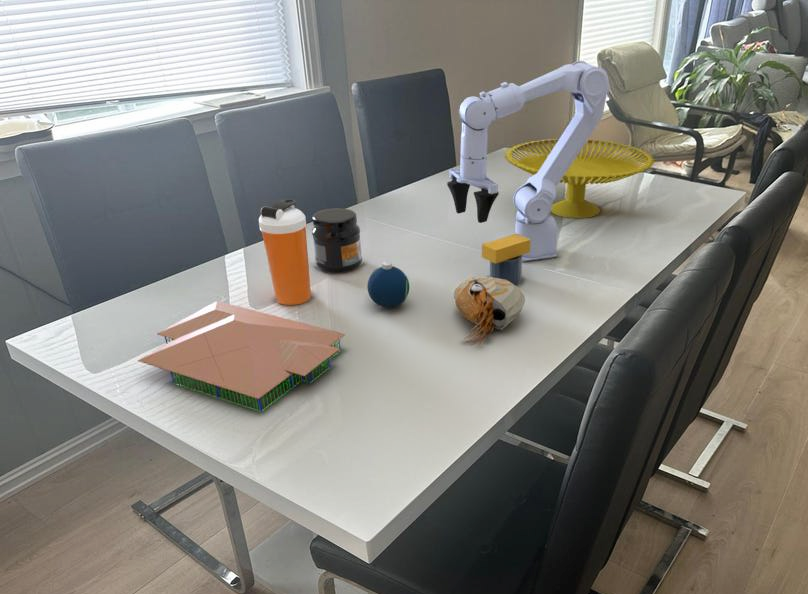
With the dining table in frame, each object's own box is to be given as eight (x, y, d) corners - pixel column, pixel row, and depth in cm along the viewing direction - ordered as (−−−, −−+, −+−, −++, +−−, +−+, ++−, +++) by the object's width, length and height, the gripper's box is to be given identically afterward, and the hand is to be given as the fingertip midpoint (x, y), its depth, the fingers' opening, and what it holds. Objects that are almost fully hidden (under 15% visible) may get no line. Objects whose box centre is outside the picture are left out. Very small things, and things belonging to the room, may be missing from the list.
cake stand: (668, 203, 199) (676, 150, 191) (613, 247, 169) (619, 186, 162) (544, 180, 217) (547, 131, 209) (475, 216, 188) (475, 161, 180)
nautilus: (501, 360, 123) (425, 348, 128) (536, 304, 140) (468, 295, 145) (499, 322, 119) (420, 311, 124) (536, 268, 135) (465, 261, 140)
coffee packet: (516, 246, 153) (516, 233, 151) (530, 252, 150) (530, 239, 149) (481, 257, 148) (481, 244, 146) (495, 263, 145) (495, 250, 143)
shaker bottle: (323, 292, 146) (312, 200, 136) (300, 310, 139) (287, 214, 128) (287, 286, 148) (273, 195, 138) (262, 303, 141) (246, 208, 131)
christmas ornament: (399, 317, 136) (396, 271, 131) (361, 311, 139) (357, 264, 133) (417, 300, 143) (415, 255, 138) (380, 294, 145) (377, 249, 140)
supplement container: (372, 265, 159) (368, 214, 152) (334, 278, 152) (329, 226, 146) (343, 252, 165) (339, 204, 158) (306, 265, 158) (300, 215, 152)
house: (275, 420, 106) (267, 375, 102) (123, 370, 118) (110, 329, 114) (359, 353, 124) (356, 312, 120) (220, 316, 136) (212, 278, 132)
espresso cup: (514, 272, 156) (514, 247, 153) (526, 284, 150) (527, 258, 147) (484, 276, 154) (485, 250, 151) (496, 288, 148) (496, 262, 145)
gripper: (438, 151, 152) (437, 211, 159) (481, 166, 142) (478, 229, 149) (463, 147, 156) (461, 206, 163) (506, 161, 147) (502, 223, 153)
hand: (471, 217), depth 156 cm, fingers open, 7 cm apart
